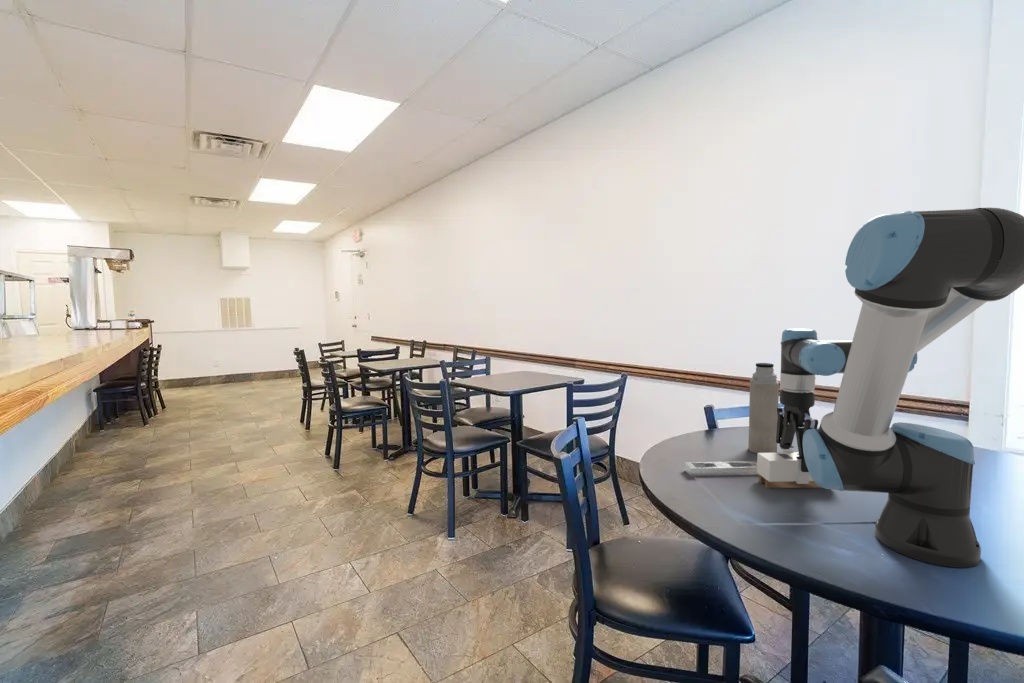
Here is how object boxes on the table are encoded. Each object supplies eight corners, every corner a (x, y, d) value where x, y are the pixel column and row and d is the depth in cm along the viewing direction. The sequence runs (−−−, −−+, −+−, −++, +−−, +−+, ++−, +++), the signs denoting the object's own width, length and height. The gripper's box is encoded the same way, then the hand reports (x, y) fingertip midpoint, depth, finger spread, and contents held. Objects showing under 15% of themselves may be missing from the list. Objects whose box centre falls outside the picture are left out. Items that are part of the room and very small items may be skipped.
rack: (820, 481, 119) (820, 473, 119) (830, 488, 115) (831, 479, 115) (758, 482, 120) (758, 473, 119) (767, 489, 115) (767, 480, 115)
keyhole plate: (764, 475, 124) (765, 467, 124) (691, 476, 124) (691, 468, 124) (755, 469, 129) (756, 461, 129) (684, 470, 129) (684, 462, 129)
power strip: (817, 479, 120) (819, 450, 119) (833, 488, 114) (834, 458, 113) (756, 479, 120) (757, 451, 120) (769, 489, 114) (769, 459, 114)
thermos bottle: (768, 446, 148) (770, 361, 145) (782, 454, 140) (785, 365, 137) (743, 446, 148) (745, 362, 146) (756, 455, 140) (758, 365, 138)
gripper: (838, 397, 105) (834, 493, 108) (790, 382, 124) (787, 464, 126) (805, 398, 106) (802, 493, 108) (762, 383, 125) (760, 464, 127)
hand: (794, 477), depth 117 cm, fingers closed on power strip, 6 cm apart
